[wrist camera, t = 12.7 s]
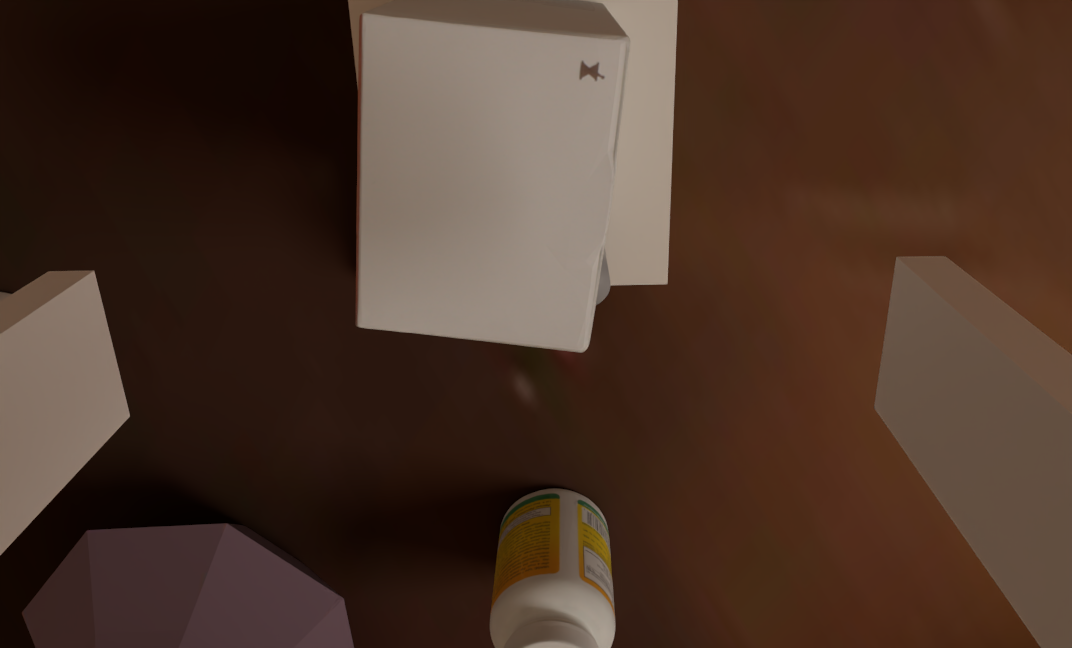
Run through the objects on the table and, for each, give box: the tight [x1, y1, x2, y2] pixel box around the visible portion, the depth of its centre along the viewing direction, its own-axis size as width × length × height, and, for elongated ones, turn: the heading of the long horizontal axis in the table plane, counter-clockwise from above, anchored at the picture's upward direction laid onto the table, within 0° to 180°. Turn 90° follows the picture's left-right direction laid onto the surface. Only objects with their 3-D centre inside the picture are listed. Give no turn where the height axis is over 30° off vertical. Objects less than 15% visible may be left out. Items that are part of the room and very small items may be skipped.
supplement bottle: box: [490, 488, 615, 648], centre depth 38 cm, size 5×5×10 cm
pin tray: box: [348, 0, 678, 305], centre depth 31 cm, size 12×15×6 cm
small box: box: [356, 0, 631, 353], centre depth 27 cm, size 8×6×13 cm
